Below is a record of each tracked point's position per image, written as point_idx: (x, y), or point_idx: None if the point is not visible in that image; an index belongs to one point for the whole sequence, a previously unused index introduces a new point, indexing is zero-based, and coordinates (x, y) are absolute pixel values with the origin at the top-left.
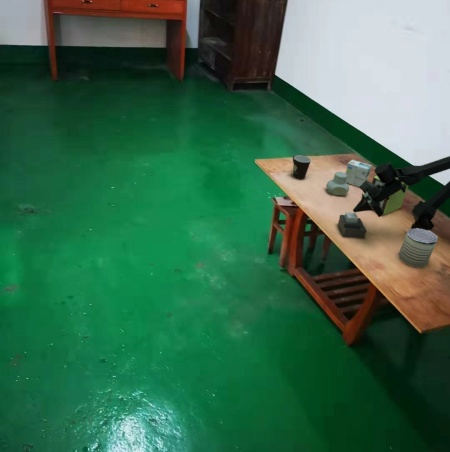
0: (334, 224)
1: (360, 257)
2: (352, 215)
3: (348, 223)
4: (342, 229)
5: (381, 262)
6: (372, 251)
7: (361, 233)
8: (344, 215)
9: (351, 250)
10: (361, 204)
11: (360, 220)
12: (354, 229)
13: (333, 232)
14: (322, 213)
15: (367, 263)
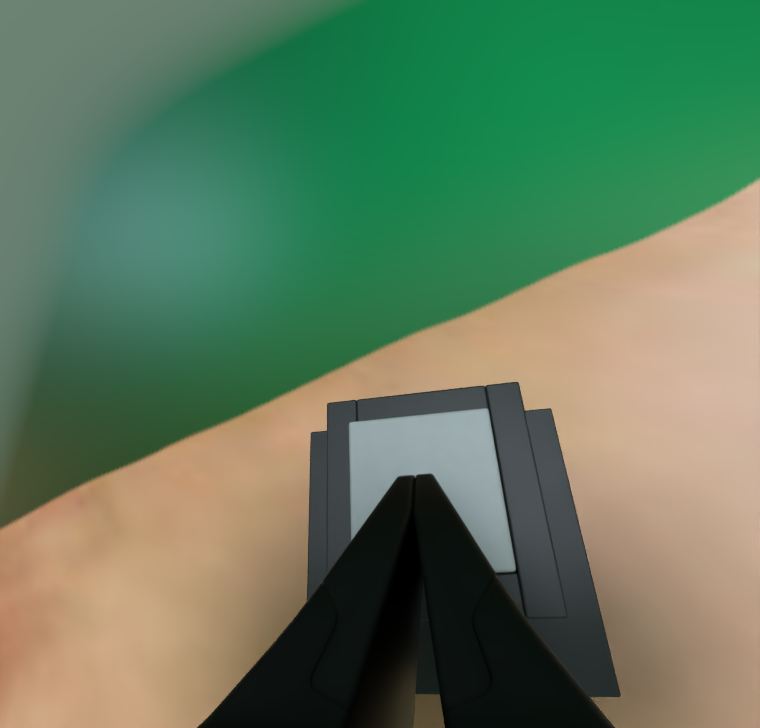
0: None
1: (95, 534)
2: None
3: (334, 449)
4: None
5: (11, 713)
6: (149, 677)
7: None
8: (513, 430)
9: (174, 482)
10: (331, 644)
11: None
12: (311, 527)
13: (391, 381)
14: (691, 316)
15: (29, 572)
